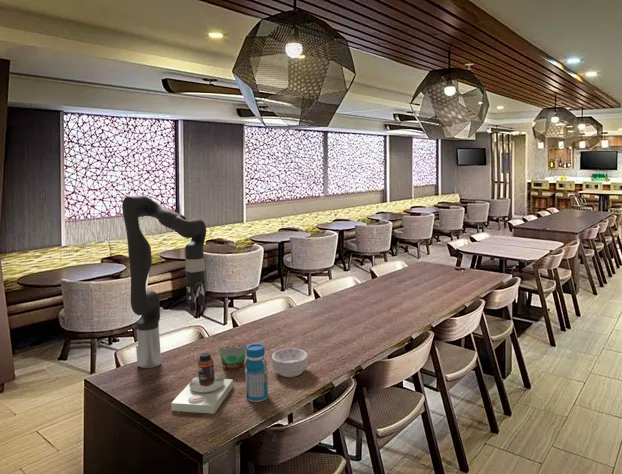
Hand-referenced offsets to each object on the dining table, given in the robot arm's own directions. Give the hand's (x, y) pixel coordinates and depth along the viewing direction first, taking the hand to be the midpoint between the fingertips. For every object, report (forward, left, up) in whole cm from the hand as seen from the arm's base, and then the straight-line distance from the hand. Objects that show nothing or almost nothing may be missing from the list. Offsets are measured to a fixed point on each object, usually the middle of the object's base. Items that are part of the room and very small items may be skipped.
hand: (197, 308), depth 192 cm
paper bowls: (+36, +9, -30) cm, 48 cm away
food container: (+11, +10, -30) cm, 34 cm away
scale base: (+8, -17, -30) cm, 35 cm away
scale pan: (+8, -13, -27) cm, 31 cm away
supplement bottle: (+8, -13, -25) cm, 30 cm away
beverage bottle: (+28, -14, -30) cm, 43 cm away
